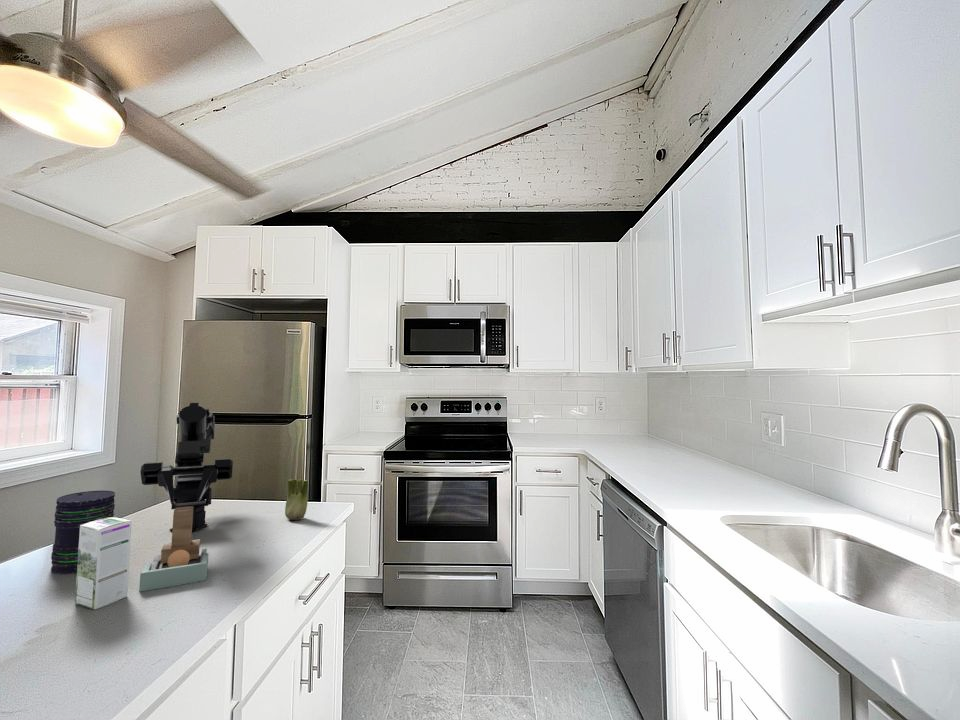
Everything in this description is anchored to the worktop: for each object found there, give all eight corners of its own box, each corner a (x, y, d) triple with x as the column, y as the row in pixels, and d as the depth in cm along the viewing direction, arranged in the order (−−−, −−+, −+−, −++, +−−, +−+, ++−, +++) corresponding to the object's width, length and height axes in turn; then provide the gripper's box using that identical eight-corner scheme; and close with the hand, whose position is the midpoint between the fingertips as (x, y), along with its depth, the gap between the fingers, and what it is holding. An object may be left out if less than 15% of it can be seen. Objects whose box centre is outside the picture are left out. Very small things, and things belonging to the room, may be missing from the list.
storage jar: (120, 561, 98) (125, 494, 99) (64, 578, 89) (69, 504, 90) (96, 552, 102) (101, 488, 103) (40, 568, 93) (46, 497, 94)
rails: (155, 560, 99) (155, 555, 99) (206, 552, 104) (207, 548, 104) (148, 575, 92) (149, 570, 92) (204, 566, 96) (205, 561, 97)
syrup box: (128, 596, 83) (134, 519, 83) (92, 611, 77) (98, 528, 78) (109, 590, 85) (114, 515, 85) (72, 605, 79) (78, 524, 80)
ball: (162, 572, 93) (163, 552, 93) (177, 564, 97) (178, 546, 97) (178, 573, 93) (179, 554, 93) (193, 565, 97) (194, 547, 97)
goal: (144, 578, 90) (145, 561, 90) (207, 568, 95) (208, 552, 96) (139, 591, 84) (140, 573, 85) (205, 580, 90) (206, 563, 90)
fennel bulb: (308, 518, 131) (310, 478, 132) (295, 523, 127) (297, 481, 127) (294, 515, 134) (296, 476, 134) (281, 520, 129) (283, 479, 130)
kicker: (163, 557, 99) (166, 508, 100) (199, 552, 103) (202, 504, 103) (160, 563, 96) (163, 513, 96) (198, 558, 99) (201, 509, 100)
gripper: (144, 428, 103) (132, 486, 93) (234, 426, 112) (232, 478, 102) (147, 456, 109) (136, 513, 99) (232, 452, 119) (230, 504, 108)
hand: (185, 501), depth 102 cm, fingers open, 5 cm apart
